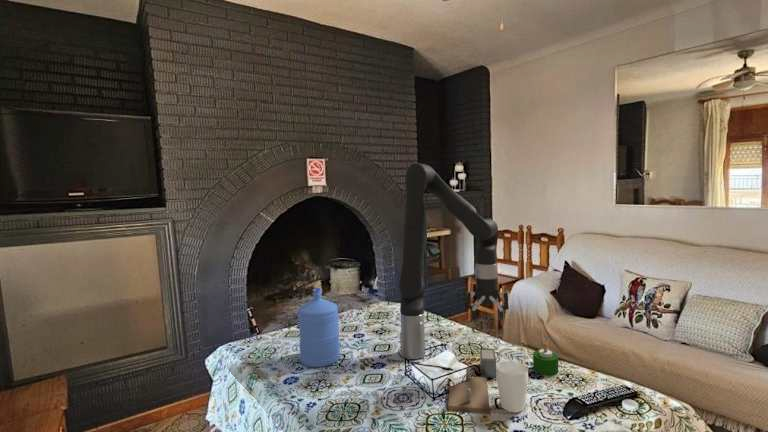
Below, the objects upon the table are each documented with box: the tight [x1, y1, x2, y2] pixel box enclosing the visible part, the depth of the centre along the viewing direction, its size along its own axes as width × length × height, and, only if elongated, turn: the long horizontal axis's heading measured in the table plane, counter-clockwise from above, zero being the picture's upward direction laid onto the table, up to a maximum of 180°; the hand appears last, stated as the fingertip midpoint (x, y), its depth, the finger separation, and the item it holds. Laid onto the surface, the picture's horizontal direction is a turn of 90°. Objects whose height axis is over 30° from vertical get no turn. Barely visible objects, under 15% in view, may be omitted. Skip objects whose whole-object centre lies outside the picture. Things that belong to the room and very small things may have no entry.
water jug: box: [297, 287, 341, 368], centre depth 151 cm, size 16×16×28 cm
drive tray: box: [447, 367, 491, 414], centre depth 123 cm, size 12×19×5 cm, turn 168°
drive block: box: [479, 347, 497, 379], centre depth 138 cm, size 5×10×6 cm, turn 168°
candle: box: [532, 342, 559, 377], centre depth 137 cm, size 8×8×10 cm
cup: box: [496, 360, 529, 414], centre depth 115 cm, size 9×9×12 cm
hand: (487, 320), depth 137 cm, fingers open, 8 cm apart
